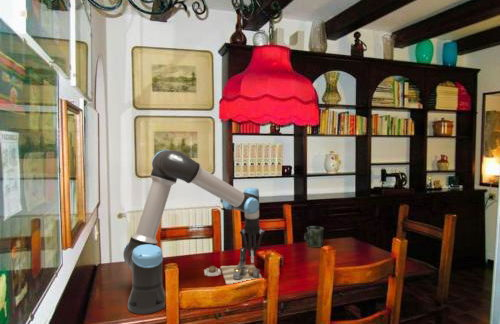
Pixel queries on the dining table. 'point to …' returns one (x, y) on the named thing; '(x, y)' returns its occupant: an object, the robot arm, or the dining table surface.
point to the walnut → (250, 271)
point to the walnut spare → (212, 269)
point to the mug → (314, 236)
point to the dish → (212, 273)
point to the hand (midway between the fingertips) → (252, 262)
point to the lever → (241, 263)
